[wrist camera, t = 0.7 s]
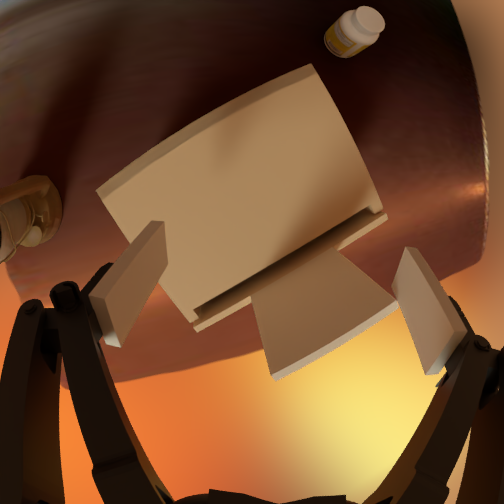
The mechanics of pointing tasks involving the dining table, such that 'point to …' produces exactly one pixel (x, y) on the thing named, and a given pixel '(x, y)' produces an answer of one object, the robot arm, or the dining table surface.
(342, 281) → the front flap
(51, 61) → the dining table surface
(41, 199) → the lantern
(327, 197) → the carton
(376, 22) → the supplement bottle
